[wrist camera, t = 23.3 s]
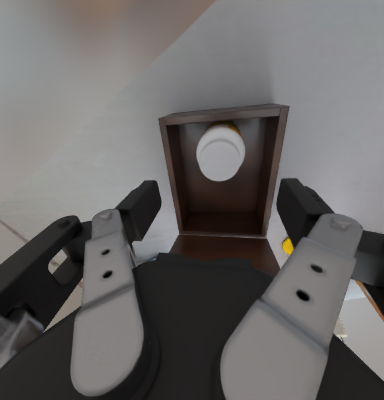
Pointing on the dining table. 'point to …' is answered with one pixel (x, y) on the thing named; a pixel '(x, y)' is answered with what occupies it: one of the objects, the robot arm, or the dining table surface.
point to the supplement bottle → (220, 151)
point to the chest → (232, 188)
